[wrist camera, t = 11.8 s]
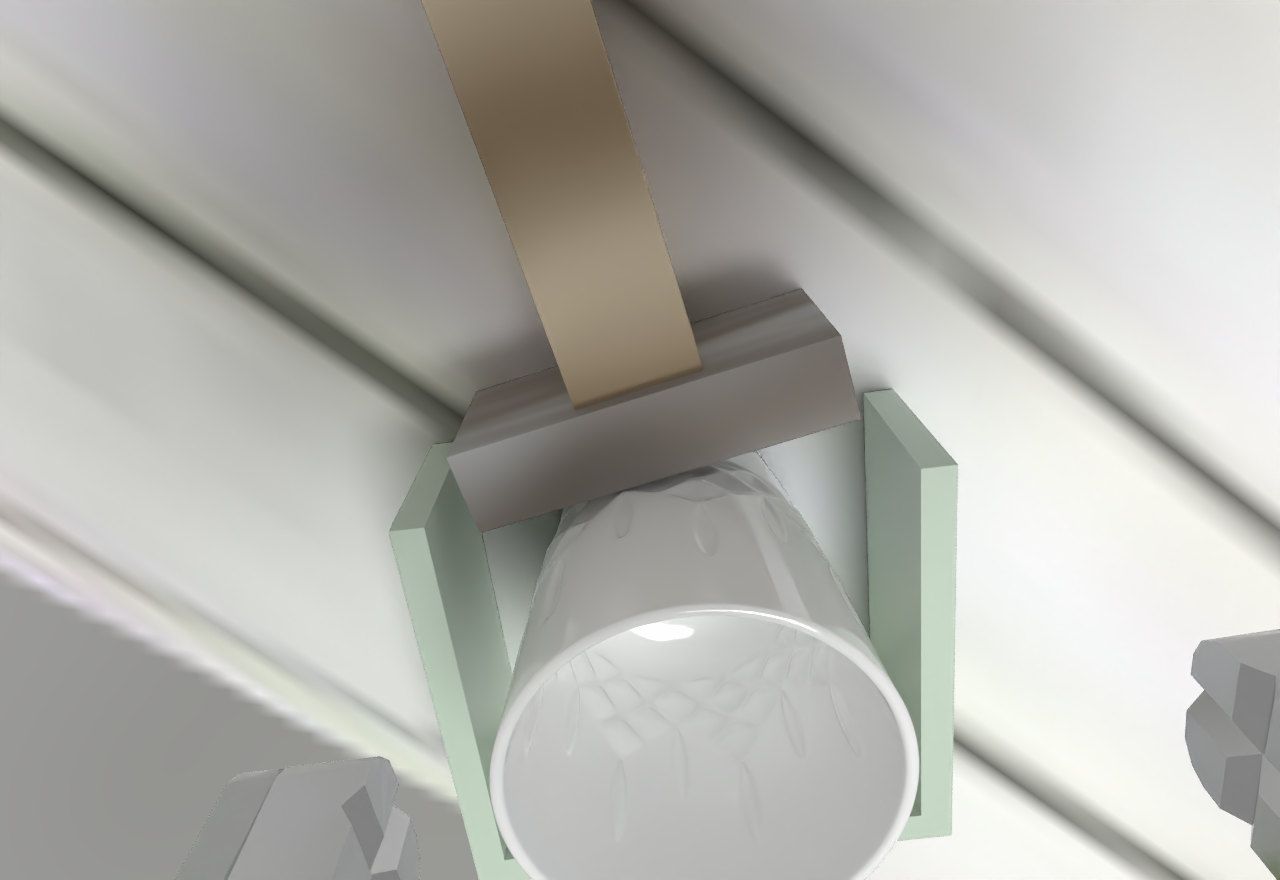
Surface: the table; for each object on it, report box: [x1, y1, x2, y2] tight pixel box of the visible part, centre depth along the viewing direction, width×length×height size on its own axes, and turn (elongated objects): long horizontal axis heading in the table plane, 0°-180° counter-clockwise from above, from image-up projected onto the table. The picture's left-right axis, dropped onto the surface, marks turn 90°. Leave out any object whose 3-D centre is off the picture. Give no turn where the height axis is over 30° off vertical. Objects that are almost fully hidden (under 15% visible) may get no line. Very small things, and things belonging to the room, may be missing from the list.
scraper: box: [421, 0, 861, 533], centre depth 20 cm, size 14×9×4 cm, turn 18°
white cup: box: [489, 451, 919, 880], centre depth 21 cm, size 8×8×10 cm
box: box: [389, 389, 958, 880], centre depth 24 cm, size 11×13×5 cm
